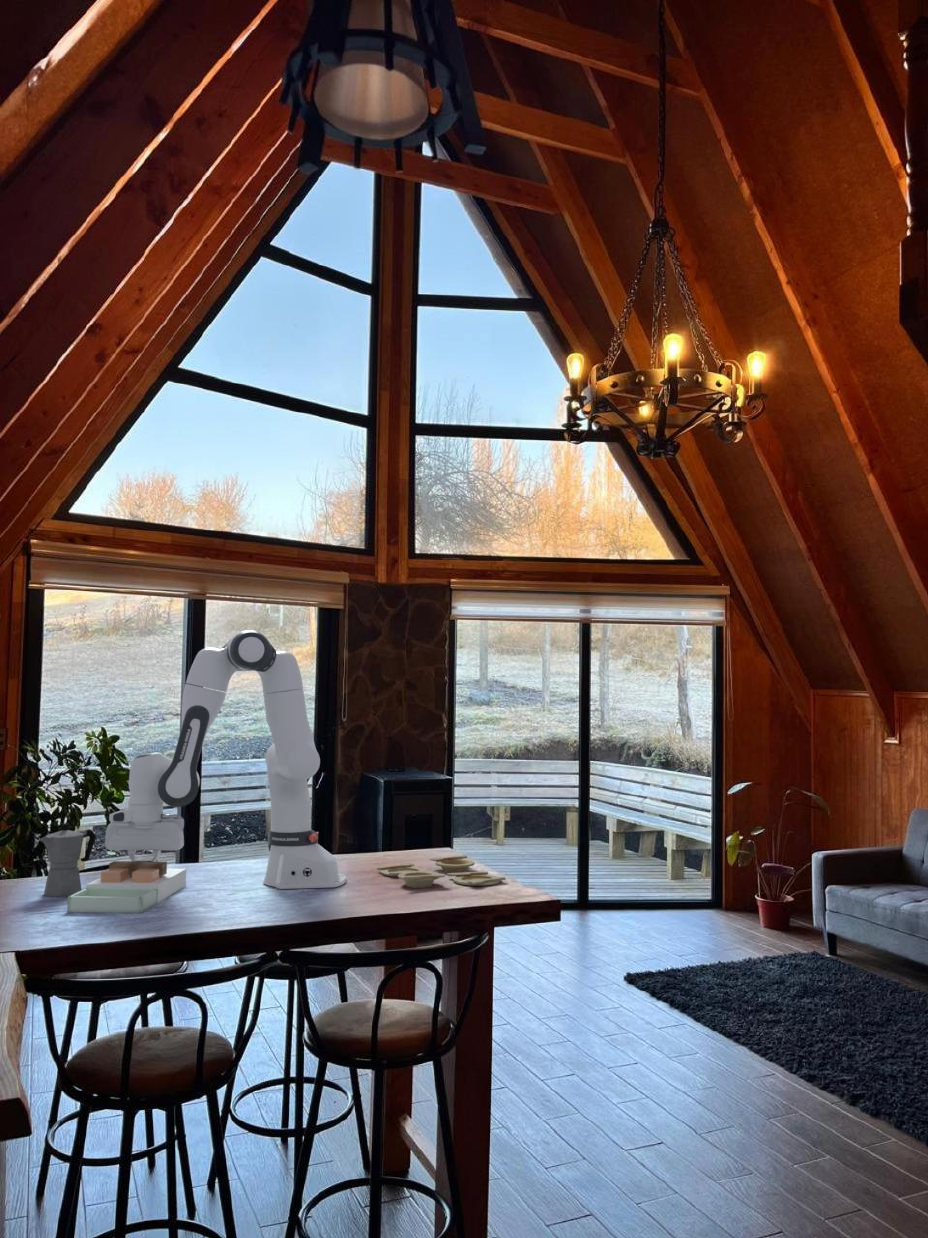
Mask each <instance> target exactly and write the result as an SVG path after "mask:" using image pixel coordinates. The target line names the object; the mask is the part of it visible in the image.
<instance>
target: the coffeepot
mask: <svg viewBox="0 0 928 1238" xmlns="http://www.w3.org/2000/svg"><path fill="white" fill-rule="evenodd" d="M61 825H62V830H60V831H56V832H53V833H49V834H46V835H45V836H44V837H43V836H42V837H41V838H40V840H39V841H40V842H42V843H43V845H44V846H45V847H46V850H47V855H48V862H49V869H48V873H47V878H46V882H45V887H44V892H43V893H44V895H46V897H49V898H63V897H64V898H65V897H69V896H71V895H73V894H75V893H77V892H79V891H81V890H83V889H82V884H81V883H82V882H81V876H80V868H79V866H78V865H79V863H78V861H79V860H80V862H87V861H89V859H90V857H91V855H92V850H93V847H94V844H95V842H96V838H97V835H96V833H95V832H94V831H93V830H92V829H88V828H87V829H83V830H78V831H75V830H70V829H69V825H70V824H69V823H67V822H64V823H62V824H61ZM87 837H89V839H88V841H87V847H86V849H85V855H84V857H81V853H82V847H83V841H84V838H87Z"/></svg>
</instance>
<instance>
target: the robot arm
mask: <svg viewBox="0 0 928 1238" xmlns="http://www.w3.org/2000/svg"><path fill="white" fill-rule="evenodd" d="M243 671H244V672H250V671H251V672H252V671H255V672H256V673H257V674H258V675H259V677H260V680H261V684H262V693H263V701H264V710H265V719H266V724H267V725H268V728H269V730H270V734H271V736H272V741H273V743H272V744H271V745H270V746H269V747H268V748H267V751H266V753H265V758H264V759H265V764H266V769H267V779H268V780H267V782H268V788H269V796H270V797H269V798H270V830H269V831H268V836H267V837H268V838H267V847H268V860H267V867H266V871H265V876H264V879H263V885H267V886H269V887H275V888H277V889H280V890H281V889H282V890H285V889H290V890H291V889H317V888H318V889H320V888H321V889H322V888H324V889H325V888H337V887H341V886H342V885H344V884H345V883H347V876H346V875H345V874H341V873H339V872H340V871H339V865H338V862H337V859H336V857H335V856H334V855H333V854H332V853H331V852H329V851H328V850H326V849H325V848H324V847H323V846H322V845H320V844H319V843H318V842H319V831H315V830H313V829H312V799H311V797H310V791H309V785H308V781H307V780H309V779H311V778H312V777H314V776H315V774H317V772H318V771H319V769H320V765H321V758H320V754H319V752H318V751H317V748H316V744H315V740H314V737H313V733H312V729H311V726H310V723H309V719H308V715H307V707H306V701H305V699H306V698H305V694H304V693H305V692H304V685H303V680H302V679H303V678H302V675H301V671H300V667H299V664H298V660H297V657H296V656H295V655H294V654H293V653H291V652H289V651H286V650H276V649H275V648H274V646H273V645H272V644H271V641H269V639H268V638H267V637H266V636H265V635H264V634H263V633H261V632H260V631H257V630H253V629H252V630H250V629H249V630H248V629H247V630H241V631H239V632H238V633H235V634H234V635H233V636H232V637H231V639H229V640H228V641H227V643H225V645H223V646H222V647H221V648H218V647H217V648H216V647H206V648H202V649H201V650H199V651H198V652H197V654H196V655H195V657H194V660H193V663H192V664H191V667H190V669H189V672H188V674H187V678H186V681H185V685H184V689H183V695H182V701H181V703H182V704H181V725H180V726H181V727H180V733H179V736H178V740H177V744H176V747H175V750H174V754H173V758H169V757H168V756H166V755H164V754H163V753H162V752H159V751H153V752H152V751H151V752H147V753H142V754H139V755H137V756H136V757H134V758H133V760H132V761H131V763H130V767H129V775H128V776H129V777H128V789H129V799H128V805H127V807H126V808H123V809H121V810H119V811H114V812H112V813H110V814H109V816H108V821H109V822H110V823H109V824H108V825H107V827H106V830H105V838H104V846H105V847H104V848H106V849H107V850H109V851H127V855H128V857H129V859H130V861H133V862H135V861H137V860H138V859H137V857H136V855H135V854H136V853H137V851H152V855H153V856H154V857H153V859H152V860H150V861H149V862H156V860H157V859H158V858H159V857H160V855H161V854H162V851H178V850H181V849H182V848H183V847H184V845H185V839H184V838H185V837H184V836H185V835H184V827H185V819H184V818H183V817H182V816H180V814H177V813H176V814H167V813H164V804H166V805H167V806H170V807H173V808H182V807H185V806H187V805H189V804H190V803H192V802H194V801H195V799H196V797H197V795H198V792H199V787H200V784H201V779H200V774H199V772H198V770H197V769H198V764H199V759H200V755H201V752H202V747H203V745H204V741H205V738H206V736H207V733H208V731H209V729H210V728H211V726H212V724H213V723H214V721H215V720H216V719H217V717H218V716H219V713H220V711H221V709H222V706H223V704H224V702H225V699H226V695H227V692H228V688H229V683H230V681H231V679H232V676H233V675H234V673H236V672H243ZM157 861H158V860H157Z"/></svg>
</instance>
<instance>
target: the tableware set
mask: <svg viewBox="0 0 928 1238" xmlns="http://www.w3.org/2000/svg"><path fill="white" fill-rule="evenodd" d="M467 858H468V855H466V854H464V855H463V854H462V855H455V856H445V857H438V856H437V857H435V856H434V857H430V858H429V860H430V861H432V862H435V866H438V867H440V868H441V869H442V871H443V873H438V872H432V871H430V870H429V871H428V870H426V869H425V868H422V867H418V866H415V864H414V863H410V862H409V863H408V862H407V863H400V864H397V865H396V864H394V865H385V866H377V867H376V870H378V871H380V874H381V875H383V876H388V877H392V878H393V877H395V878H399V879H400V880H403V881H404V884H405V885H406V887H408V888H413V889H414V888H415V889H423V888H424V889H425V888H430V887H432V885H433V883H434V881H435V880H438V879H440V878H445V877H446V876H447V877H453V880H452V881H453V882H454V883H456V884H457V885H464V886H470V887H471V886H472V887H473V886H474V887H475V886H477V887H479V886H481V887H482V886H485V887H487V886H493V885H497V884H500V883H502V881H506V880H507V879H506V876H497V875H491V874H489V871H487V870H486V871H468V869H469V868H470V867H473V866H475V863H476V862H475V861H474V860H472V859H467ZM445 873H446V874H445Z"/></svg>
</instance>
